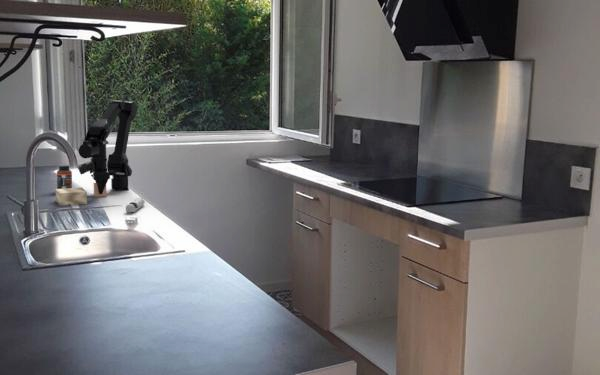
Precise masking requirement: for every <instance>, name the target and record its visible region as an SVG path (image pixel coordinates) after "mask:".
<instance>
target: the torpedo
mask: <svg viewBox="0 0 600 375" xmlns="http://www.w3.org/2000/svg"><path fill="white" fill-rule="evenodd" d="M145 203H147V202H146V200H144V198H143V197H138V198H136V199H134V200H133V201H131V202H129V203H128V204H126V206H125V212H126V213H128V214H132V213H131V212H134V213H135V212H136V211H138V210H139V209H141V208H142V207H144V205H145Z"/></svg>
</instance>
